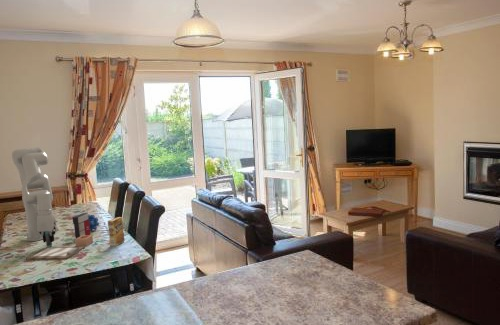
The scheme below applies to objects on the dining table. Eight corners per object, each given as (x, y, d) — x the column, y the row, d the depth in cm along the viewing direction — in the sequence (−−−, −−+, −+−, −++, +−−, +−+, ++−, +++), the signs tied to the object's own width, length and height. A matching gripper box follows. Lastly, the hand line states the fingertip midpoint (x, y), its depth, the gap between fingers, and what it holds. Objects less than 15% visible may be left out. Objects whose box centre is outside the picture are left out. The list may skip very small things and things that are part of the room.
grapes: (84, 234, 255) (82, 216, 254) (81, 232, 260) (79, 215, 259) (101, 230, 263) (100, 213, 261) (98, 228, 268) (96, 211, 266)
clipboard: (26, 260, 210) (25, 256, 210) (46, 248, 228) (46, 245, 228) (66, 259, 207) (66, 255, 207) (84, 248, 225) (84, 244, 225)
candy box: (115, 246, 225) (113, 221, 224) (109, 245, 227) (107, 220, 225) (124, 241, 234) (122, 217, 232) (119, 241, 235) (116, 216, 233)
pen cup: (76, 246, 229) (75, 239, 229) (82, 242, 236) (81, 235, 236) (87, 246, 229) (86, 238, 228) (93, 242, 235) (92, 235, 235)
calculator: (80, 240, 241) (78, 217, 240) (74, 240, 242) (72, 217, 241) (91, 235, 252) (88, 212, 250) (85, 234, 253) (83, 212, 251)
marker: (45, 247, 231) (43, 231, 229) (48, 245, 234) (46, 230, 232) (50, 247, 230) (48, 231, 229) (53, 245, 233) (51, 229, 232)
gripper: (28, 214, 227) (32, 244, 229) (54, 213, 225) (57, 243, 227) (36, 211, 234) (40, 240, 236) (61, 210, 232) (65, 239, 234)
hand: (48, 241), depth 232 cm, fingers open, 3 cm apart
